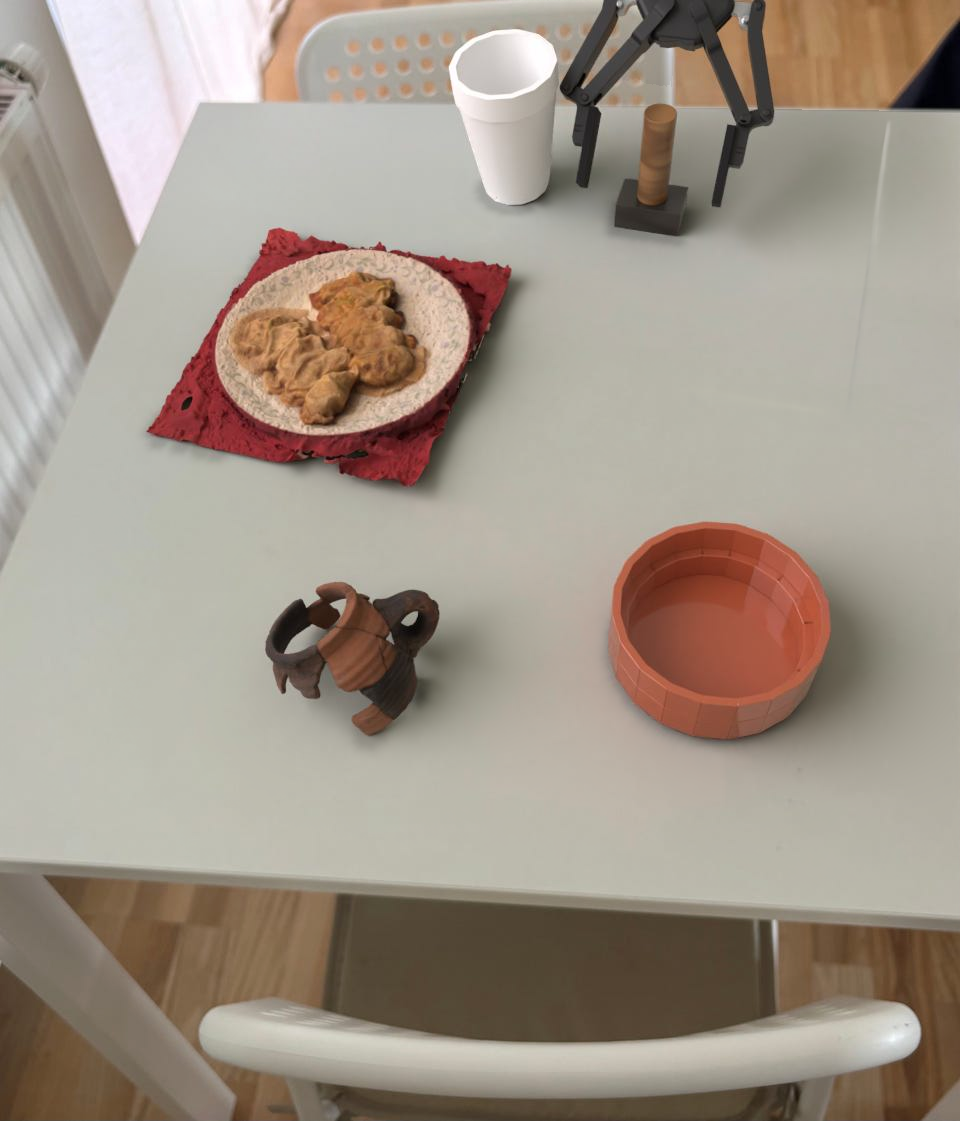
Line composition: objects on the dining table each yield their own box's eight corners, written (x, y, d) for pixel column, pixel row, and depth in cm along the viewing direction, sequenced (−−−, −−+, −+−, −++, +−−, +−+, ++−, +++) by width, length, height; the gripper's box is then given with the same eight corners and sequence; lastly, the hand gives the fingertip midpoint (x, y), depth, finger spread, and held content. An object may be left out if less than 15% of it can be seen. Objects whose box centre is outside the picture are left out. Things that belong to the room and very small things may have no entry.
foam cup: (584, 184, 105) (578, 65, 94) (506, 231, 104) (490, 115, 92) (526, 135, 110) (514, 15, 99) (450, 179, 108) (428, 62, 97)
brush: (685, 209, 104) (699, 103, 95) (677, 236, 102) (691, 131, 93) (623, 199, 105) (630, 95, 96) (614, 226, 103) (621, 122, 94)
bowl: (809, 573, 81) (825, 529, 76) (817, 752, 73) (836, 715, 68) (614, 558, 82) (618, 514, 78) (602, 731, 74) (606, 694, 70)
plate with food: (514, 283, 100) (513, 252, 97) (416, 495, 86) (411, 466, 83) (275, 240, 105) (268, 209, 102) (146, 433, 91) (134, 404, 88)
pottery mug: (337, 772, 74) (266, 694, 70) (308, 697, 82) (243, 623, 77) (483, 668, 74) (422, 584, 70) (440, 604, 82) (383, 525, 78)
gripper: (838, -40, 95) (781, 220, 100) (569, -68, 99) (527, 182, 104) (846, -73, 88) (784, 209, 92) (556, -101, 92) (511, 169, 97)
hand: (648, 195), depth 98 cm, fingers open, 11 cm apart
